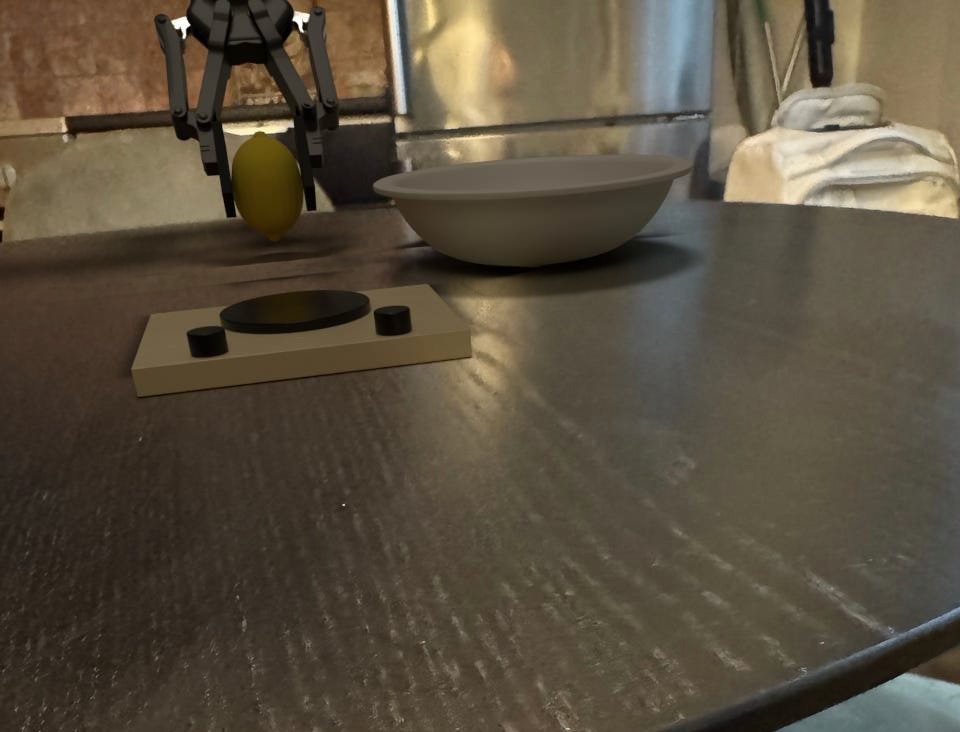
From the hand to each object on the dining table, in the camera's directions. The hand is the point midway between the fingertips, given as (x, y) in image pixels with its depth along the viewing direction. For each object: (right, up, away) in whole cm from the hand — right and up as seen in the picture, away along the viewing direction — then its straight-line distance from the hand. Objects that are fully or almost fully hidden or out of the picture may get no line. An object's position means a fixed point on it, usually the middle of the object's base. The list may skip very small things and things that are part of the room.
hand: (270, 201), depth 75 cm
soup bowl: (+20, -4, +3) cm, 21 cm away
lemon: (-1, -1, +5) cm, 5 cm away
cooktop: (+5, -16, -16) cm, 23 cm away
